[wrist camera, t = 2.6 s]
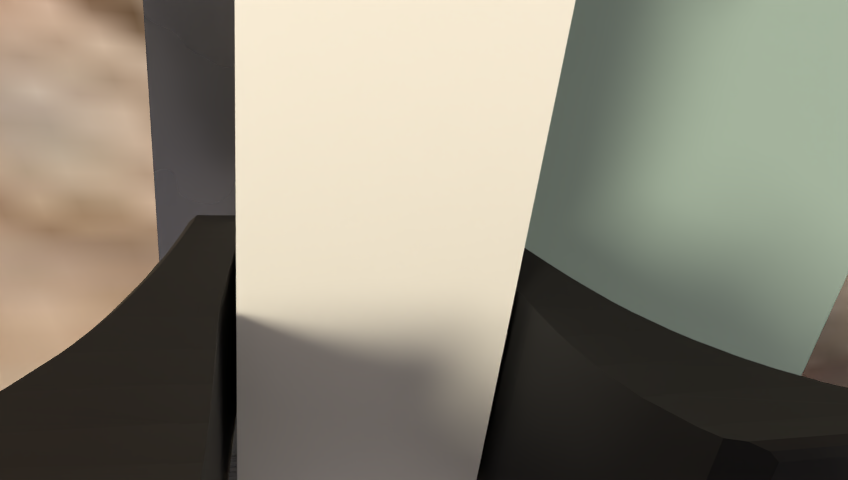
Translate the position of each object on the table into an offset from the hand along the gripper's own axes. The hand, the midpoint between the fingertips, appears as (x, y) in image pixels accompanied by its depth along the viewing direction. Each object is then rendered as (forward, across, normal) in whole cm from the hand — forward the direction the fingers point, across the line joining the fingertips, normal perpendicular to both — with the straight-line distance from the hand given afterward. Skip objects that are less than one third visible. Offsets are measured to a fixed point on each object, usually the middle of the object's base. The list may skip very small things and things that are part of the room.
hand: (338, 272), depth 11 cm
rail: (0, 0, 0) cm, 0 cm away
